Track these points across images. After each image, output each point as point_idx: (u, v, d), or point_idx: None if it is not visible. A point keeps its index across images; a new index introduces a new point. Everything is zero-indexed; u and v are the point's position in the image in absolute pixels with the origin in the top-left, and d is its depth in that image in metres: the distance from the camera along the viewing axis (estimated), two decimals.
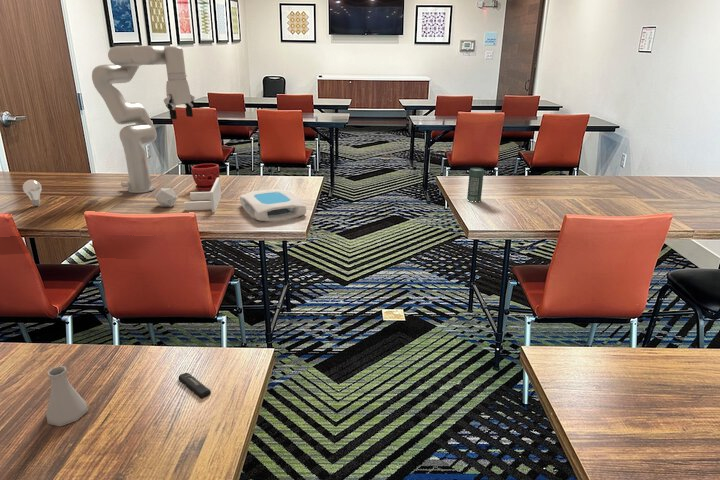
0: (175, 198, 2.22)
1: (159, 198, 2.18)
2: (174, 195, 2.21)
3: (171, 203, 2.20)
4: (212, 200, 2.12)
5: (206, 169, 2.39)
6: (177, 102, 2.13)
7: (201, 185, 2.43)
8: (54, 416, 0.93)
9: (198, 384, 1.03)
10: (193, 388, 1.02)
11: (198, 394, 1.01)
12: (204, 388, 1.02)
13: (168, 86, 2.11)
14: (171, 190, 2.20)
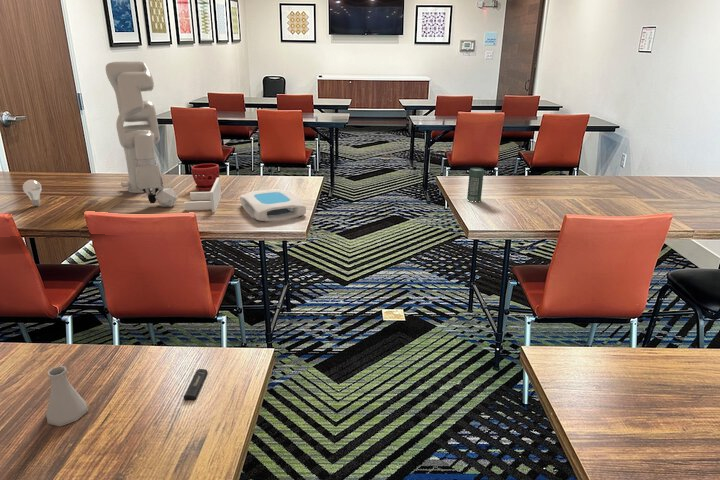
0: (175, 198, 2.22)
1: (159, 198, 2.18)
2: (174, 195, 2.21)
3: (171, 203, 2.20)
4: (212, 200, 2.12)
5: (206, 169, 2.39)
6: None
7: (201, 185, 2.43)
8: (54, 416, 0.93)
9: (196, 385, 1.03)
10: (189, 387, 1.03)
11: None
12: (192, 392, 1.01)
13: (159, 170, 2.16)
14: (171, 190, 2.20)
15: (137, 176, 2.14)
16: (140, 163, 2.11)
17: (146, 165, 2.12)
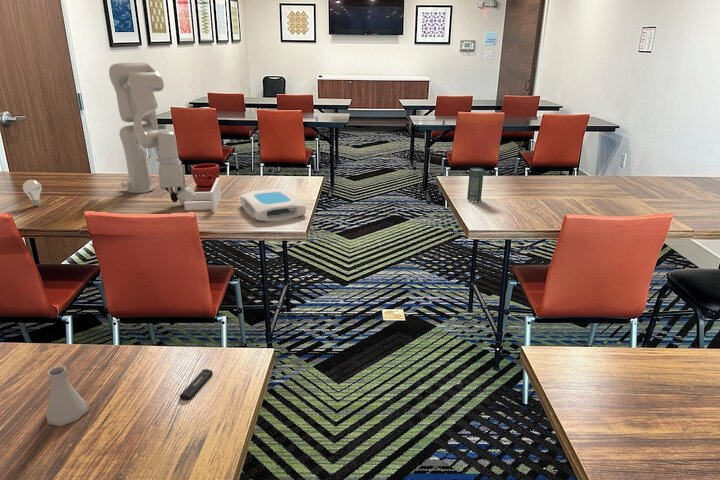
0: None
1: (182, 197, 2.19)
2: None
3: None
4: (212, 200, 2.12)
5: (206, 169, 2.39)
6: None
7: (201, 185, 2.43)
8: (54, 416, 0.93)
9: (194, 385, 1.03)
10: (188, 386, 1.03)
11: (181, 393, 1.01)
12: (188, 392, 1.01)
13: (181, 168, 2.17)
14: (192, 189, 2.22)
15: (160, 175, 2.15)
16: (163, 162, 2.12)
17: (169, 164, 2.13)
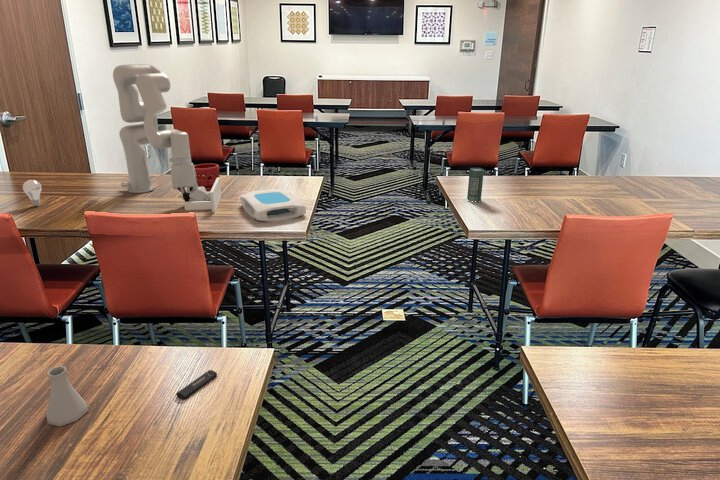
0: None
1: (194, 197, 2.20)
2: None
3: None
4: (212, 200, 2.12)
5: (206, 169, 2.39)
6: None
7: (201, 185, 2.43)
8: (54, 416, 0.93)
9: (193, 385, 1.03)
10: None
11: None
12: (185, 391, 1.01)
13: (194, 168, 2.18)
14: (204, 188, 2.23)
15: (172, 175, 2.16)
16: (176, 162, 2.13)
17: (182, 164, 2.13)
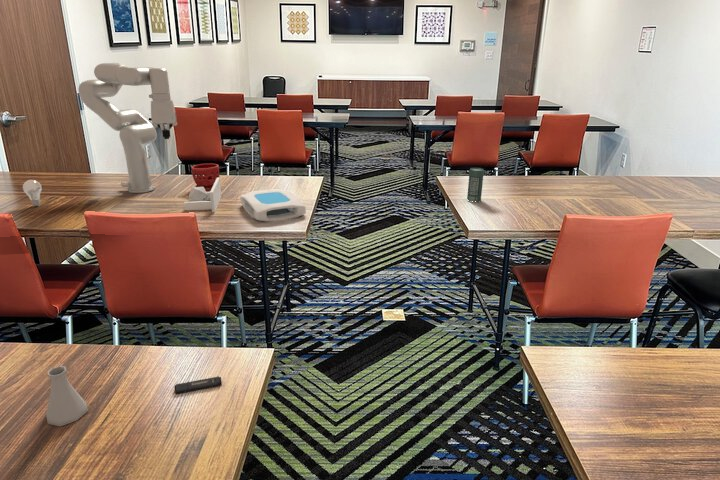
0: (207, 196, 2.25)
1: (194, 197, 2.20)
2: None
3: None
4: (212, 200, 2.12)
5: (206, 169, 2.39)
6: None
7: (201, 185, 2.43)
8: (54, 416, 0.93)
9: (191, 385, 1.03)
10: None
11: None
12: (180, 387, 1.02)
13: (173, 105, 2.23)
14: (203, 188, 2.23)
15: (152, 111, 2.21)
16: (155, 97, 2.18)
17: (161, 99, 2.18)
